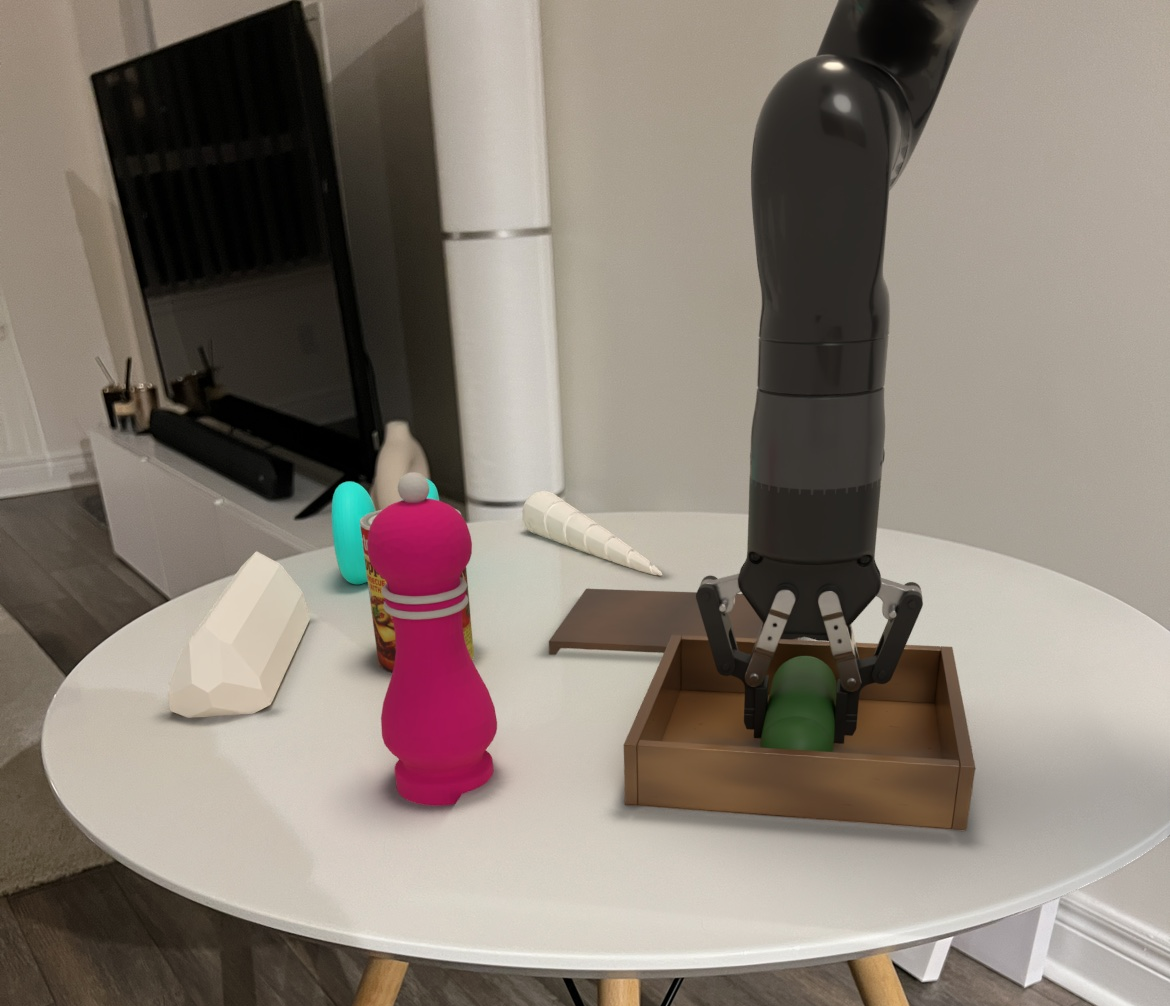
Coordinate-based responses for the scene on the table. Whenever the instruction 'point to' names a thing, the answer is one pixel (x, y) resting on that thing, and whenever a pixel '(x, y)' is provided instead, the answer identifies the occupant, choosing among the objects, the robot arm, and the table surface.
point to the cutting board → (642, 620)
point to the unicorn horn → (578, 531)
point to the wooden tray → (798, 777)
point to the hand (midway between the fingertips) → (799, 735)
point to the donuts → (354, 528)
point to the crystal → (241, 644)
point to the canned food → (384, 620)
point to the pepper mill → (430, 650)
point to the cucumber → (801, 707)
